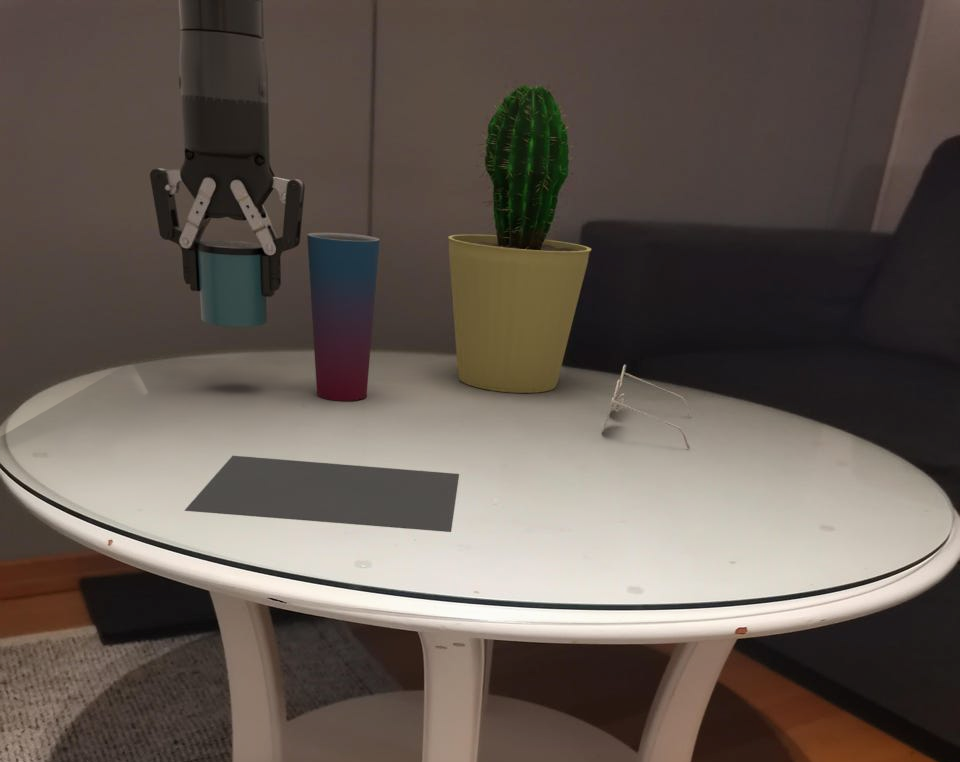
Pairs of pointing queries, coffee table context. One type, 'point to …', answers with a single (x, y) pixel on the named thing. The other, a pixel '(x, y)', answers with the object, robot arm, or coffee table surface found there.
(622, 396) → the sunglasses
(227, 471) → the cloth
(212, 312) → the pot
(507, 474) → the coffee table surface
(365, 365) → the cup
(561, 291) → the potted cactus
